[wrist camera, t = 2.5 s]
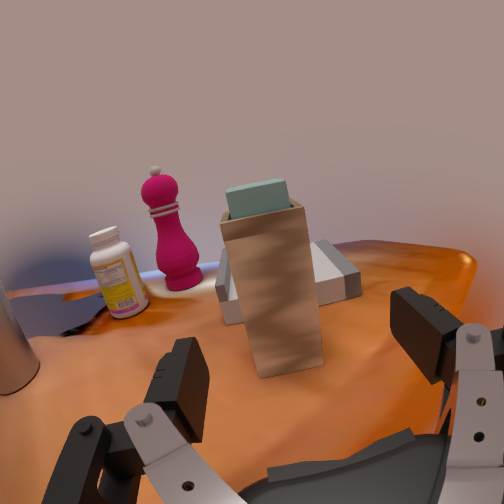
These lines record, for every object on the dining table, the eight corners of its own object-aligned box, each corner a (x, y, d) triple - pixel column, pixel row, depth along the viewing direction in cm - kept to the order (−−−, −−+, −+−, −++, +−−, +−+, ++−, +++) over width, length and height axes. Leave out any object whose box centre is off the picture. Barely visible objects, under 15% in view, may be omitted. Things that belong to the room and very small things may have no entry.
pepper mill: (198, 270, 51) (171, 163, 45) (211, 281, 45) (180, 157, 39) (162, 283, 48) (131, 174, 42) (169, 297, 42) (133, 169, 36)
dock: (226, 325, 31) (214, 286, 30) (230, 278, 44) (222, 248, 43) (361, 295, 31) (359, 255, 29) (328, 257, 44) (324, 227, 43)
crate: (259, 378, 22) (219, 224, 18) (256, 341, 27) (224, 210, 23) (323, 364, 22) (304, 206, 18) (310, 330, 27) (289, 197, 23)
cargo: (235, 236, 19) (225, 193, 18) (236, 224, 23) (228, 188, 22) (293, 224, 19) (285, 180, 18) (284, 214, 23) (277, 178, 22)
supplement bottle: (130, 298, 44) (106, 227, 40) (157, 300, 42) (132, 221, 38) (104, 318, 38) (75, 240, 35) (130, 322, 36) (99, 235, 32)
